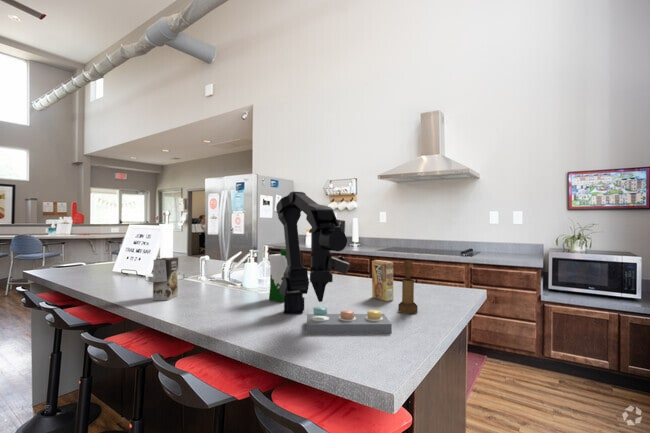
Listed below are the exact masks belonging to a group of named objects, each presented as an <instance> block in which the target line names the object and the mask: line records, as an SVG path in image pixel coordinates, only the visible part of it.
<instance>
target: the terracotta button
mask: <svg viewBox="0 0 650 433" xmlns="http://www.w3.org/2000/svg"><path fill="white" fill-rule="evenodd" d="M340 314H341V318H342V319H353V318H354V314H355V311H354V310H349V309H343V310H341V311H340Z"/></svg>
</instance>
